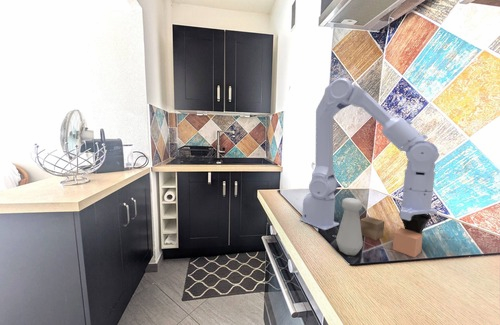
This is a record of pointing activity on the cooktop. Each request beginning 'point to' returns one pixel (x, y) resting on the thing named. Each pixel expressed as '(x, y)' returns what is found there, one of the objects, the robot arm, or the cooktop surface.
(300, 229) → the cooktop surface
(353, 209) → the salt shaker
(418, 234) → the terracotta block
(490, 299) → the cooktop surface
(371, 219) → the walnut block
